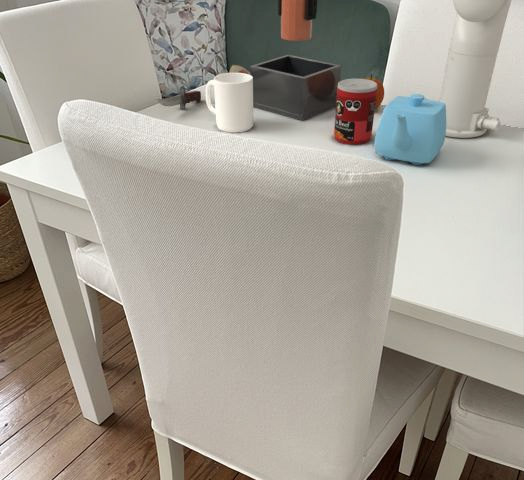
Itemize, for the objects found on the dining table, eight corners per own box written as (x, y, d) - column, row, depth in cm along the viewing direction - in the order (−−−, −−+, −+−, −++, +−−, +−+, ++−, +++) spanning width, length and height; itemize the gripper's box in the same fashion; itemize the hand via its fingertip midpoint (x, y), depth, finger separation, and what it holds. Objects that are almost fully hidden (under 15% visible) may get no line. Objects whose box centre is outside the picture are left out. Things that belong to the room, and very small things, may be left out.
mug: (271, 98, 143) (253, 64, 135) (237, 116, 146) (218, 83, 138) (268, 82, 147) (250, 48, 140) (235, 99, 150) (216, 67, 143)
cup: (239, 135, 123) (237, 85, 116) (196, 125, 128) (192, 76, 121) (260, 124, 128) (260, 76, 121) (218, 114, 133) (216, 68, 127)
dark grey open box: (338, 105, 138) (341, 65, 132) (302, 120, 130) (304, 78, 124) (287, 92, 146) (288, 54, 140) (250, 106, 138) (250, 66, 132)
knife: (161, 122, 130) (159, 99, 126) (156, 121, 130) (154, 98, 127) (201, 101, 141) (200, 79, 138) (197, 100, 142) (195, 78, 138)
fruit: (353, 104, 138) (356, 69, 133) (382, 105, 138) (386, 70, 132) (352, 113, 133) (355, 77, 128) (382, 115, 132) (386, 78, 127)
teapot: (359, 168, 109) (366, 106, 102) (389, 138, 121) (397, 80, 114) (423, 180, 105) (435, 117, 97) (447, 148, 117) (460, 89, 109)
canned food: (327, 135, 123) (330, 80, 115) (359, 130, 125) (364, 76, 118) (344, 147, 117) (349, 91, 110) (378, 141, 120) (385, 86, 112)
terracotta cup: (317, 37, 128) (319, -10, 123) (298, 42, 125) (300, -6, 119) (293, 32, 132) (295, -13, 126) (274, 37, 128) (275, -9, 122)
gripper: (346, -84, 112) (338, 19, 123) (279, -87, 121) (277, 9, 132) (324, -82, 108) (318, 25, 119) (255, -86, 116) (256, 14, 128)
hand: (296, 16), depth 126 cm, fingers closed on terracotta cup, 6 cm apart
